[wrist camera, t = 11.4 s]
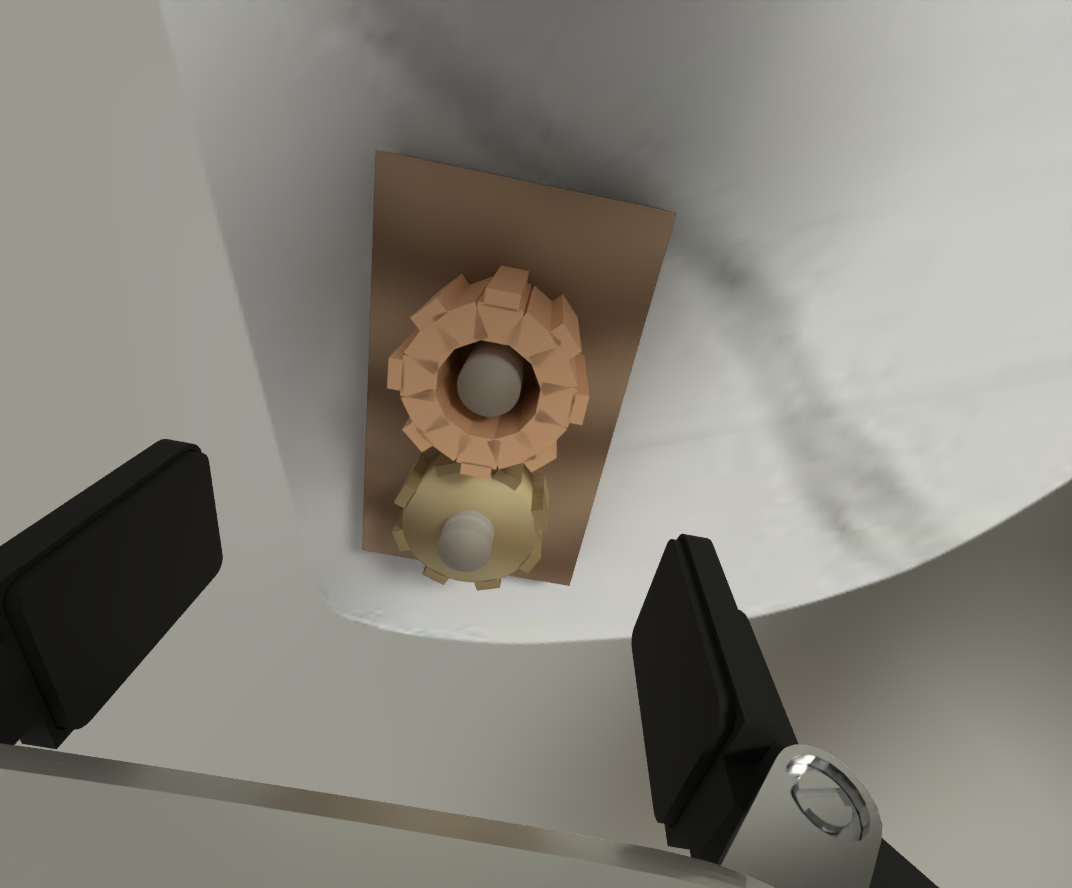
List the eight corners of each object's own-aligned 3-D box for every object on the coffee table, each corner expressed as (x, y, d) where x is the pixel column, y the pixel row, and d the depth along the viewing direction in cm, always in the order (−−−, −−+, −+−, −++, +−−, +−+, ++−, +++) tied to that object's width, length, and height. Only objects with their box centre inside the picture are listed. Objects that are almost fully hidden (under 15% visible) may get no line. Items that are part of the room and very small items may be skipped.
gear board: (390, 152, 22) (328, 143, 16) (667, 210, 22) (704, 221, 16) (373, 528, 31) (330, 609, 25) (568, 562, 31) (570, 649, 26)
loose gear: (428, 250, 21) (393, 269, 17) (600, 285, 22) (610, 313, 17) (414, 409, 25) (382, 459, 20) (564, 437, 25) (564, 493, 21)
